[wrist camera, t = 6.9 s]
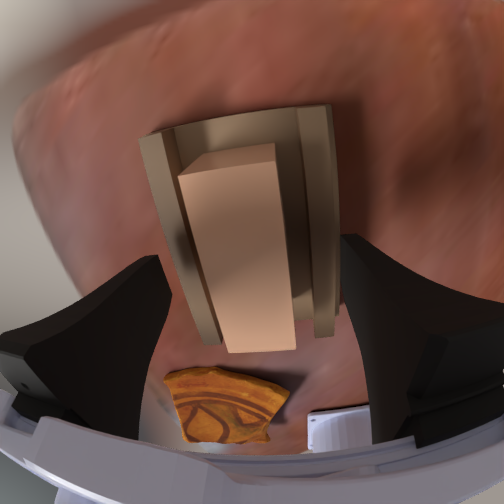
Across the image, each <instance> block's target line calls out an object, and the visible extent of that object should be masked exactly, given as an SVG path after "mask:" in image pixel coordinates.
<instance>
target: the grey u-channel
mask: <svg viewBox="0 0 504 504" xmlns="http://www.w3.org/2000/svg"><path fill="white" fill-rule="evenodd" d="M138 141H139V146H140V150H141V154H142V158H143V161H144V165H145V169H146V173H147V177H148V180H149V184H150V188H151V191H152V195H153V198H154V202H155V205H156V208H157V212H158V215H159V219H160V222H161V225H162V228H163V232H164V235H165V238H166V241H167V244H168V247H169V250H170V253H171V256H172V259H173V262H174V265H175V268H176V271H177V274H178V277H179V280H180V283H181V285H182V288H183V291H184V294H185V296H186V299H187V302H188V305H189V307H190V310H191V313H192V315H193V318H194V320H195V323H196V326H197V328H198V331H199V333H200V336H201V338H202V341H203V343H204V345H222V340H223V334H222V331H221V328H220V324H219V321H218V318H217V315H216V312H215V309H214V305H213V302H212V299H211V296H210V292H209V289H208V286H207V282H206V279H205V276H204V272H203V269H202V265H201V262H200V258H199V255H198V251H197V248H196V244H195V241H194V237H193V233H192V230H191V226H190V222H189V218H188V215H187V211H186V207H185V203H184V199H183V195H182V191H181V187H180V183H179V179H178V175H180V174H181V173H182V172H183V171H184V170H185V169H186V168H187V167H188V166H190V165H191V164H192V163H193V162H194V161H195V160H196V159H197V158H199V157H200V156H201V155H202V154H204V153H209V152H215V151H221V150H227V149H233V148H240V147H246V146H253V145H261V144H269V143H275V149H276V156H277V163H278V170H279V178H280V185H281V193H282V201H283V209H284V217H285V226H286V234H287V243H288V252H289V262H290V271H291V281H292V291H293V303H294V319H295V321H296V320H306V319H313V324H314V332H315V338H323V337H332V336H334V325H335V316H339V304H340V212H339V189H338V173H337V159H336V146H335V136H334V126H333V116H332V108H331V104H318V105H305V106H294V107H284V108H276V109H267V110H260V111H253V112H246V113H240V114H234V115H228V116H223V117H217V118H212V119H207V120H202V121H198V122H193V123H189V124H184V125H180V126H176V127H172V128H168V129H164V130H160V131H156V132H152V133H149V134H146V135H144V136H143V137H141V138H139V139H138Z"/></svg>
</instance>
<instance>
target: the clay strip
mask: <svg viewBox="0 0 504 504" xmlns="http://www.w3.org/2000/svg"><path fill="white" fill-rule="evenodd" d="M178 179H179V183H180V187H181V191H182V195H183V199H184V203H185V207H186V211H187V215H188V218H189V222H190V226H191V230H192V233H193V237H194V241H195V244H196V248H197V251H198V255H199V258H200V262H201V265H202V269H203V272H204V276H205V279H206V282H207V286H208V289H209V292H210V296H211V299H212V302H213V305H214V309H215V312H216V315H217V318H218V321H219V324H220V328H221V331H222V334H223V337H224V340H225V343H226V346H227V349H228V352H229V353H243V352H263V351H279V350H292V349H296V336H295V319H294V303H293V291H292V281H291V271H290V262H289V252H288V243H287V234H286V226H285V217H284V209H283V201H282V193H281V185H280V178H279V170H278V163H277V156H276V149H275V143H269V144H261V145H253V146H246V147H240V148H233V149H227V150H221V151H215V152H209V153H204V154H202V155H201V156H200V157H199V158H197V159H196V160H195V161H194V162H193V163H192V164H191V165H190V166H188V167H187V168H186V169H185V170H184V171H183V172H182V173H181V174H180V175H178Z"/></svg>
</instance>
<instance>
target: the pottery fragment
mask: <svg viewBox="0 0 504 504" xmlns="http://www.w3.org/2000/svg"><path fill="white" fill-rule="evenodd" d="M163 381H164V383H165V384H166V385H167V386H168V387H169V388H170V391H171V395H172V398H173V401H174V405H175V409H176V411H177V415H178V417H179V419H180V423H181V428H182V437H183V439H184V440H185V441H187V442H188V443H199V442H217V443H222V444H230V443H236V444H246V443H249V442H256V443H267V442H269V441H270V437H269V436H268V434H267V429H268V427H269V424H270V421H271V419H272V418H273V416H274V415H275V414H276V412H277V411H278V410H279V409H280V407H281V406H282V405H283V404H284V402H285V401H286V400H287V398H288V396H289V394H290V392H289V391H288V390H286V389H284V388H282V387H280V386H279V385H277V384H274V383H271V382H268V381H265V380H261V379H259V378H256V377H253V376H249V375H245V374H239V373H235V372H231V371H226V370H223V369H220V368H218V367H205V368H202V367H201V368H189V369H184V370H181V371H177V372H173V373H169V374H167V375H165V377H164V379H163Z"/></svg>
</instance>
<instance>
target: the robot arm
mask: <svg viewBox="0 0 504 504" xmlns="http://www.w3.org/2000/svg"><path fill="white" fill-rule="evenodd" d="M340 281H341V286H342V291H343V296H344V301H345V304H346V307H347V310H348V313H349V316H350V319H351V322H352V325H353V328H354V331H355V334H356V337H357V340H358V344H359V347H360V351H361V355H362V359H363V365H364V371H365V377H366V384H367V391H368V398H369V405H365V406H359V407H353V408H346V409H338V410H330V411H321V412H312V413H309V414H308V449H313V453H309V454H294V455H263V456H255V455H224V454H210V453H198V452H189V451H181V450H177V449H172V448H168V447H163V446H159V445H155V444H152V443H147V442H142V441H138V435H139V434H138V433H139V419H140V410H141V403H142V397H143V391H144V385H145V381H146V376H147V372H148V367H149V364H150V361H151V357H152V355H153V352H154V349H155V347H156V344H157V342H158V339H159V336H160V334H161V331H162V329H163V326H164V323H165V321H166V318H167V315H168V312H169V308H170V303H171V299H172V292H171V289H170V287H169V284H168V281H167V279H166V276H165V273H164V271H163V268H162V265H161V262H160V260H159V257H158V255H149V256H144V257H142V258H140V259H138V260H137V261H135V262H134V263H132V264H131V265H129V266H128V267H126V268H125V269H124V270H122V271H121V272H119V273H118V274H117V275H115V276H114V277H113V278H111V279H110V280H108V281H107V282H106V283H104V284H103V285H101V286H100V287H98V288H97V289H96V290H94V291H93V292H91V293H90V294H88V295H87V296H85V297H84V298H82V299H80V300H79V301H77V302H75V303H74V304H72V305H70V306H69V307H67V308H65V309H63V310H61V311H59V312H57V313H55V314H53V315H51V316H49V317H46V318H44V319H42V320H40V321H37V322H34V323H32V324H29V325H26V326H24V327H21V328H17V329H14V330H10V331H7V332H4V333H3V334H1V335H0V372H1V373H2V375H3V376H4V377H5V378H6V379H7V380H8V381H9V382H10V384H11V385H12V386H13V387H14V388H15V389H16V390H17V391H18V394H17V396H16V397H14V396H13V395H12V394H10V393H9V392H6V391H4V390H2V389H0V451H1V452H2V453H4V454H5V455H6V456H8V457H9V458H11V459H12V460H14V461H15V462H17V463H18V464H19V465H21V466H22V467H24V468H26V469H27V470H29V471H30V472H32V473H34V474H35V475H37V476H39V477H40V478H42V479H44V480H46V481H47V482H49V483H51V484H53V485H54V486H56V487H58V488H59V490H58V493H57V496H56V499H55V503H54V504H458V503H460V502H462V501H464V500H466V499H469V498H471V497H473V496H475V495H477V494H479V493H481V492H483V491H485V490H487V489H489V488H490V487H492V486H494V485H496V484H498V483H499V482H501V481H503V480H504V387H503V385H504V373H503V369H504V303H500V302H496V301H491V300H486V299H482V298H478V297H475V296H471V295H468V294H465V293H461V292H459V291H456V290H453V289H450V288H448V287H445V286H443V285H440V284H438V283H436V282H433V281H431V280H429V279H427V278H425V277H423V276H421V275H419V274H417V273H415V272H413V271H412V270H410V269H408V268H406V267H405V266H403V265H402V264H400V263H398V262H397V261H395V260H394V259H392V258H391V257H389V256H388V255H386V254H385V253H383V252H382V251H380V250H379V249H378V248H376V247H375V246H373V245H372V244H371V243H369V242H368V241H366V240H365V239H364V238H362V237H361V236H359V235H358V234H356V233H355V234H345V235H340Z"/></svg>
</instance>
